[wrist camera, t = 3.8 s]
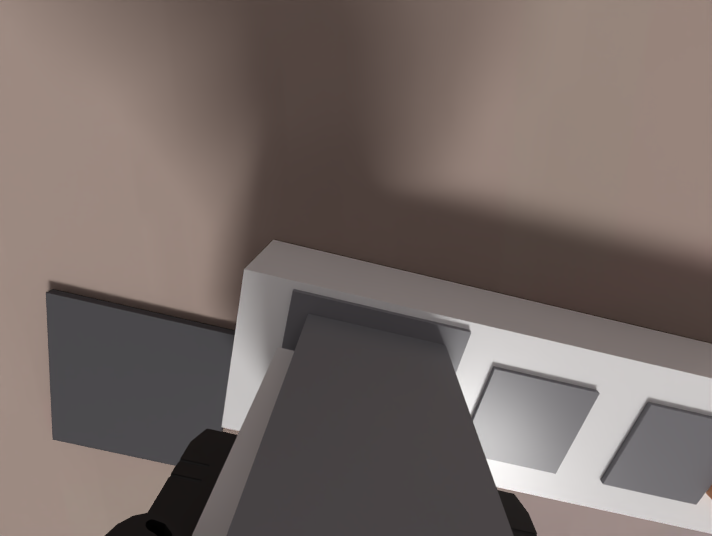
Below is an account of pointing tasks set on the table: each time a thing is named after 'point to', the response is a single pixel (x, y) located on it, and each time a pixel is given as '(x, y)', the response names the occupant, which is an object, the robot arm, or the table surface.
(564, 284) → the table surface
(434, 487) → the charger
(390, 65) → the table surface
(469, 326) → the power strip
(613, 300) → the table surface
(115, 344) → the mat
